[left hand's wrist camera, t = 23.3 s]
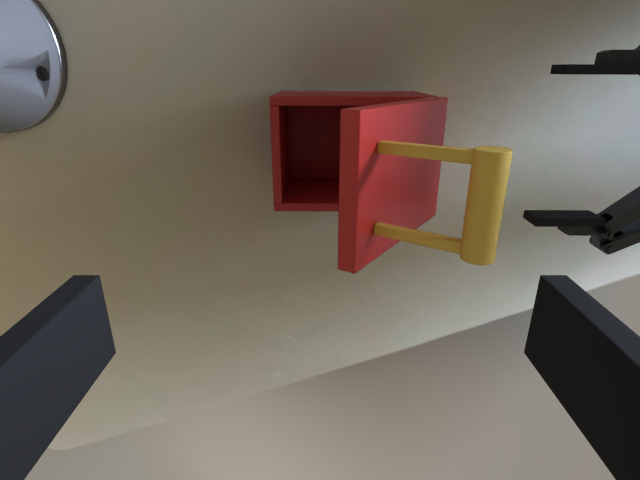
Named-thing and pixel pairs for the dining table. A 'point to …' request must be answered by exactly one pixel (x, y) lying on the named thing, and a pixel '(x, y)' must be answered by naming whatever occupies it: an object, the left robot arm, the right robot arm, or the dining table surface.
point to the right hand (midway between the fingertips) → (542, 148)
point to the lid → (411, 183)
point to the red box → (314, 143)
